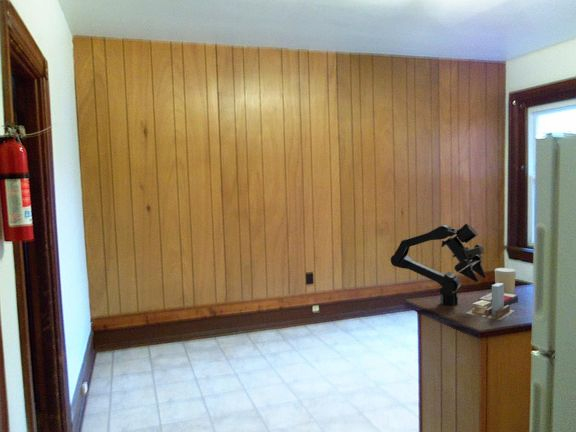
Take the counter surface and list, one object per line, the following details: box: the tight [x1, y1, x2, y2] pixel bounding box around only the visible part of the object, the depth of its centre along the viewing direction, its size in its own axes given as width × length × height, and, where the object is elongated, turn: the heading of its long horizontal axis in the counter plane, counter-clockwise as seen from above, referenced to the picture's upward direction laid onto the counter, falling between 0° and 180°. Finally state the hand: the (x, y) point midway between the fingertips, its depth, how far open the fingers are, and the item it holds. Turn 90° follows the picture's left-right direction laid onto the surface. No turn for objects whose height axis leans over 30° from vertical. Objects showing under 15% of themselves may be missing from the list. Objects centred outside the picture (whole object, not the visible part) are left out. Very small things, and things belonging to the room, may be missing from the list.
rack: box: [466, 304, 516, 321], centre depth 191 cm, size 14×16×4 cm
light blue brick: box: [491, 283, 505, 315], centre depth 188 cm, size 2×6×12 cm, turn 134°
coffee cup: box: [494, 267, 517, 295], centre depth 220 cm, size 9×9×12 cm
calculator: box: [477, 292, 519, 307], centre depth 206 cm, size 11×4×15 cm
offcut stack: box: [471, 300, 492, 314], centre depth 193 cm, size 5×9×3 cm, turn 134°
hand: (481, 279), depth 194 cm, fingers open, 9 cm apart
